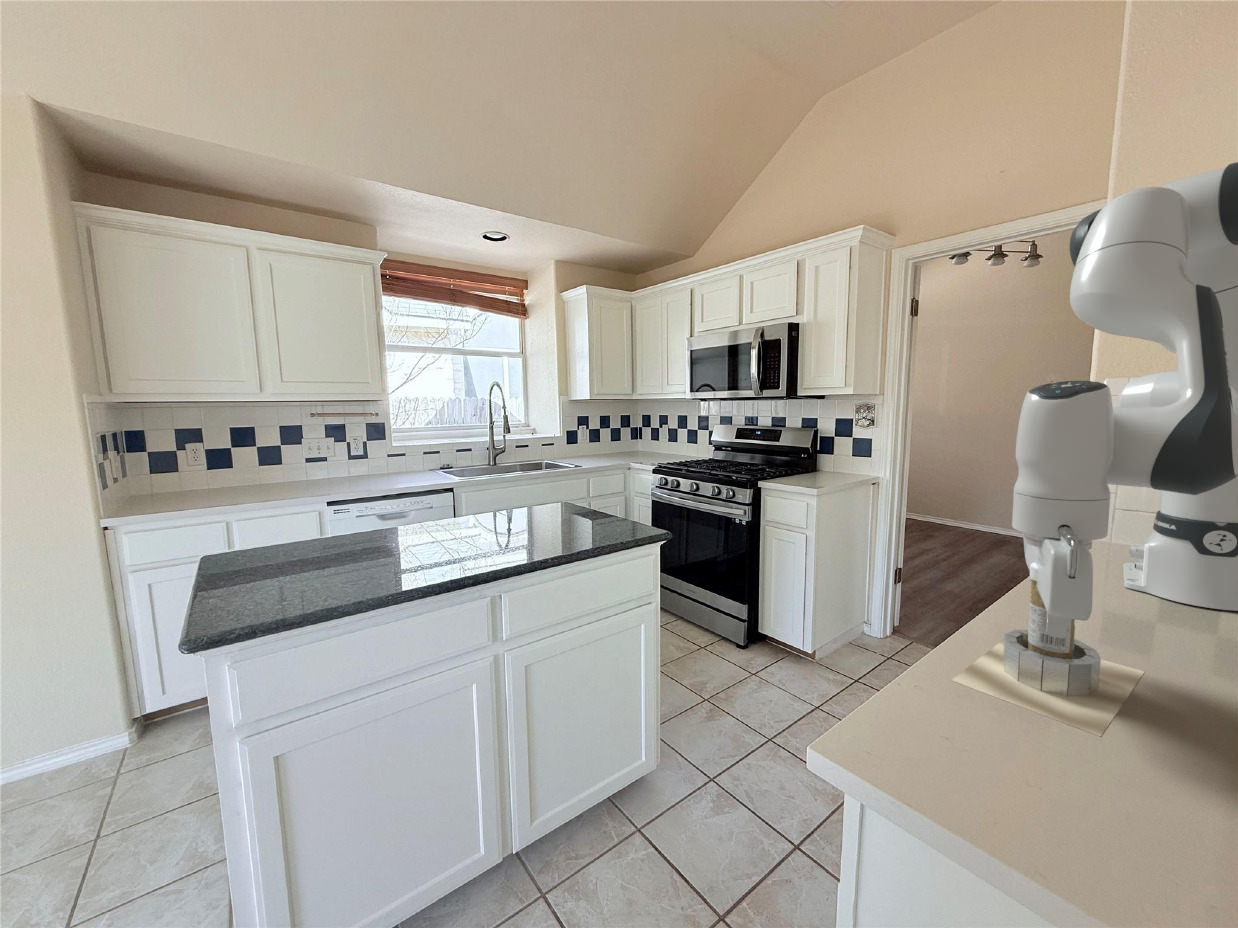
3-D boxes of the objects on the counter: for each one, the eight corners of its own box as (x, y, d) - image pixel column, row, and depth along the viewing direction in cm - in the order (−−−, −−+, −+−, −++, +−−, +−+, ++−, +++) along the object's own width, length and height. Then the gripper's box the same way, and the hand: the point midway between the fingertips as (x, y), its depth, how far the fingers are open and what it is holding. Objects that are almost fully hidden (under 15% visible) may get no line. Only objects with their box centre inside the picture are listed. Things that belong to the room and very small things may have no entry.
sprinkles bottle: (1077, 671, 64) (1083, 565, 62) (1067, 683, 61) (1073, 573, 60) (1031, 657, 67) (1036, 558, 66) (1020, 669, 65) (1025, 565, 63)
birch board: (1010, 641, 76) (1011, 633, 76) (1143, 680, 65) (1144, 671, 64) (951, 688, 65) (951, 680, 64) (1099, 747, 53) (1100, 736, 53)
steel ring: (1000, 652, 71) (1002, 624, 70) (1087, 668, 66) (1089, 638, 65) (1006, 683, 63) (1008, 653, 63) (1105, 704, 58) (1108, 671, 58)
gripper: (1117, 542, 52) (1107, 670, 53) (1075, 503, 69) (1069, 601, 70) (1037, 535, 55) (1030, 656, 57) (1016, 499, 72) (1011, 594, 74)
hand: (1051, 625), depth 64 cm, fingers closed on sprinkles bottle, 4 cm apart
